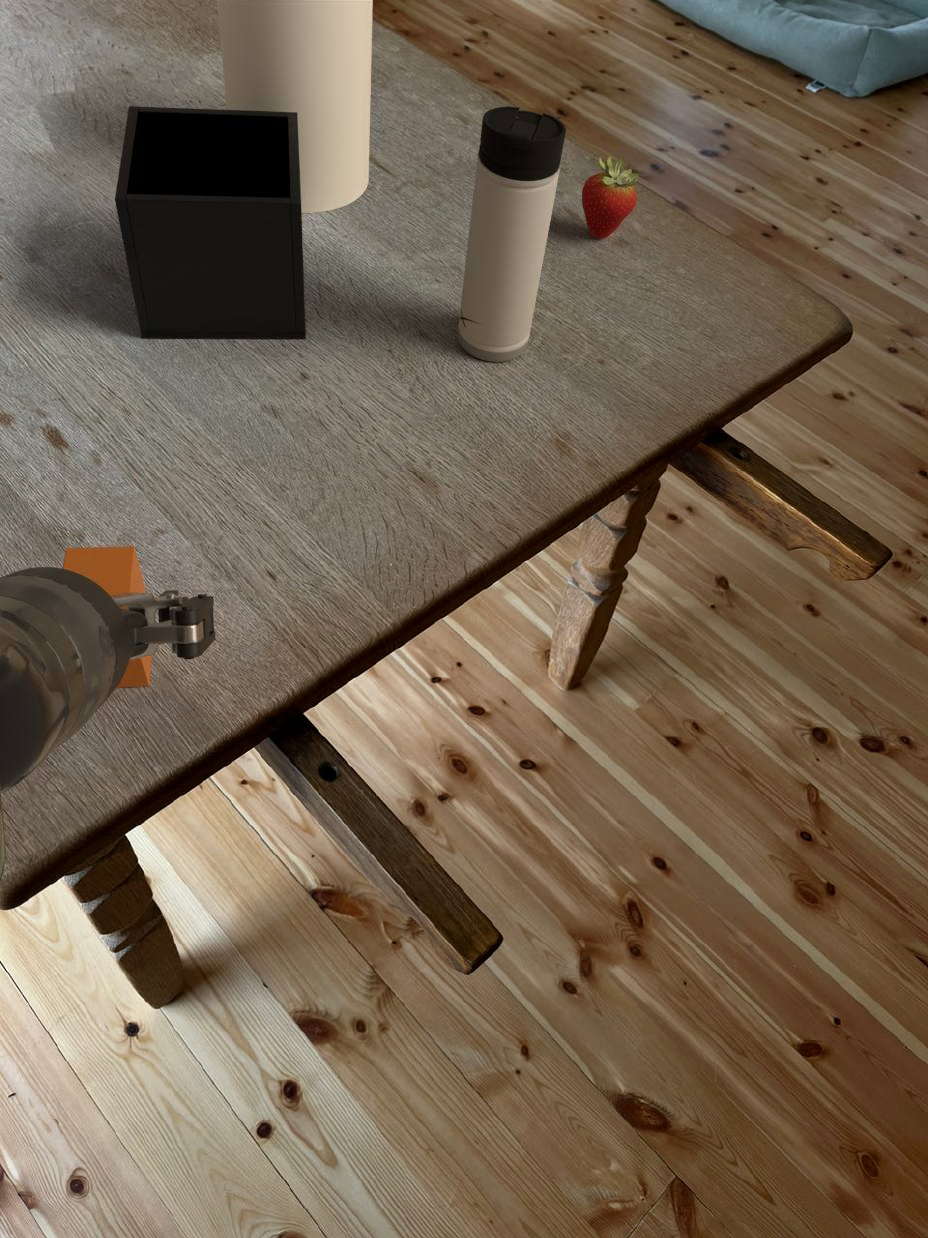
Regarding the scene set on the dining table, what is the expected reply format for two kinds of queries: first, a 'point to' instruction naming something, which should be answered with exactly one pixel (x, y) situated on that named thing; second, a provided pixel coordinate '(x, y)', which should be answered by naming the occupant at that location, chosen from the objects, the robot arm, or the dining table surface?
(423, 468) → the dining table surface
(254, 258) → the bin
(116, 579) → the block
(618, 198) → the fruit
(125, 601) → the robot arm
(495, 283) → the travel mug
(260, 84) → the canister
